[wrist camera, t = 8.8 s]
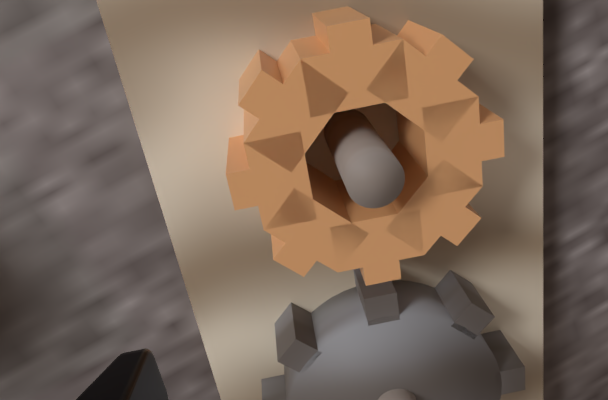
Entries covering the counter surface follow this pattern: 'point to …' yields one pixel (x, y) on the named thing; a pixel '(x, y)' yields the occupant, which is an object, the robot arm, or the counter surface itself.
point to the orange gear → (408, 151)
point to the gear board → (362, 189)
